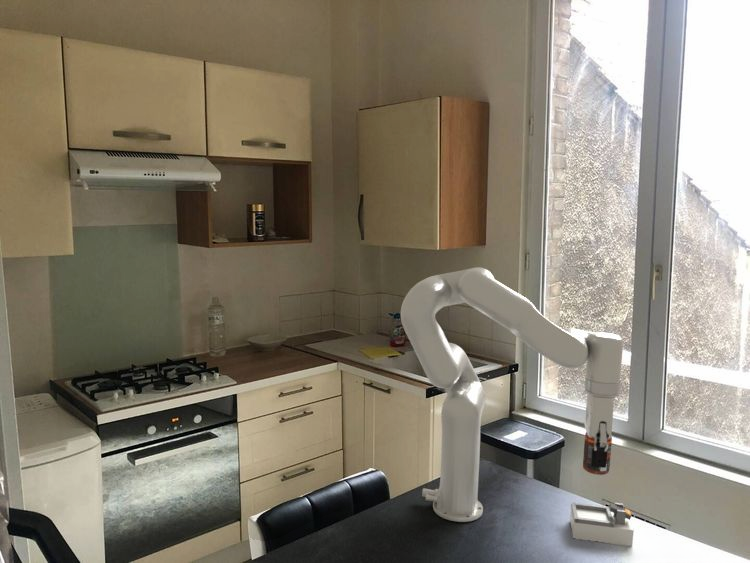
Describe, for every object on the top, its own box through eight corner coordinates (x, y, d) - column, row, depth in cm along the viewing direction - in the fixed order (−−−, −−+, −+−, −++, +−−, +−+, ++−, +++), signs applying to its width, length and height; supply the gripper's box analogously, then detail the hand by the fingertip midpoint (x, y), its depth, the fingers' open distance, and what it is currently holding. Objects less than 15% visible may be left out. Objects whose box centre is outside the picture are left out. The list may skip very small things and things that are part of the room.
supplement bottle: (611, 477, 141) (615, 430, 140) (584, 474, 142) (587, 427, 141) (607, 466, 147) (610, 421, 146) (581, 463, 148) (584, 418, 147)
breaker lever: (609, 510, 144) (612, 506, 144) (608, 506, 146) (610, 501, 146) (629, 519, 143) (632, 515, 143) (627, 515, 146) (630, 510, 145)
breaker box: (573, 538, 144) (575, 509, 143) (570, 521, 152) (572, 493, 151) (632, 546, 141) (634, 517, 140) (625, 528, 149) (628, 500, 148)
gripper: (580, 375, 151) (575, 444, 154) (589, 396, 134) (584, 474, 137) (613, 377, 150) (607, 448, 152) (626, 399, 133) (619, 478, 135)
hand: (596, 459), depth 144 cm, fingers closed on supplement bottle, 6 cm apart
